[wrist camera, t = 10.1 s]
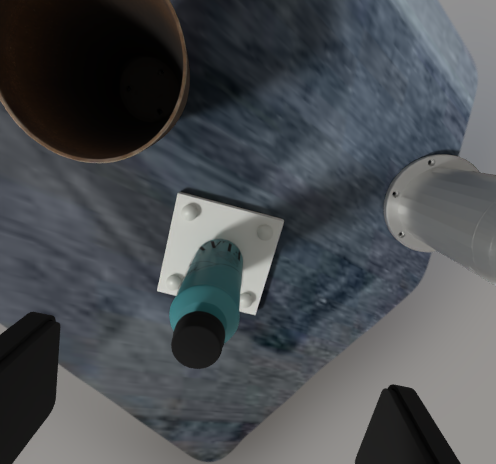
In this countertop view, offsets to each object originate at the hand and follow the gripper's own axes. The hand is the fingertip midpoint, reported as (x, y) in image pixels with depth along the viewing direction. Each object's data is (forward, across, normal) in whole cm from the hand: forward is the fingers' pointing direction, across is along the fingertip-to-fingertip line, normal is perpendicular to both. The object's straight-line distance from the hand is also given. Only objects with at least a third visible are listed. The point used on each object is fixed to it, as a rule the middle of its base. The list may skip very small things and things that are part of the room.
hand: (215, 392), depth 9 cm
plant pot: (+35, +14, -10) cm, 39 cm away
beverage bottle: (+34, +2, +9) cm, 35 cm away
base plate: (+35, +2, +9) cm, 36 cm away
